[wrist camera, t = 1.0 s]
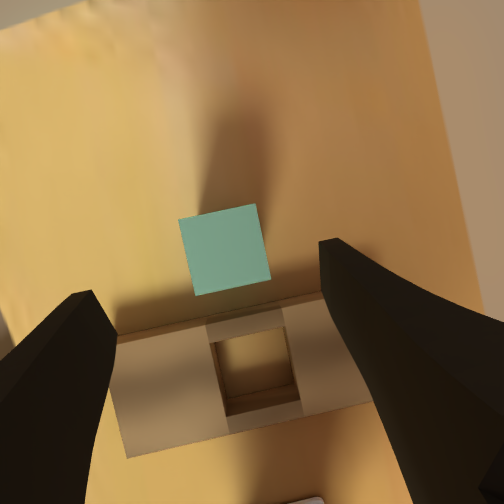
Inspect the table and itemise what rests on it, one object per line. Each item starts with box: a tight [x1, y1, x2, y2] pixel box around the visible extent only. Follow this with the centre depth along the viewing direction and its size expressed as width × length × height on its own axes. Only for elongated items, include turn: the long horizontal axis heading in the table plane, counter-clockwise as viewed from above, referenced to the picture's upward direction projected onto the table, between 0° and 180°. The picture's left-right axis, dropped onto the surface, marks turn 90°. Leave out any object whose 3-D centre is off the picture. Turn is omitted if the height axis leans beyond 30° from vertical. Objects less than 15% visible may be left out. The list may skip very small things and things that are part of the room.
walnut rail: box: [109, 291, 373, 458], centre depth 24 cm, size 8×20×2 cm, turn 102°
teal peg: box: [178, 204, 271, 296], centre depth 21 cm, size 4×4×8 cm
